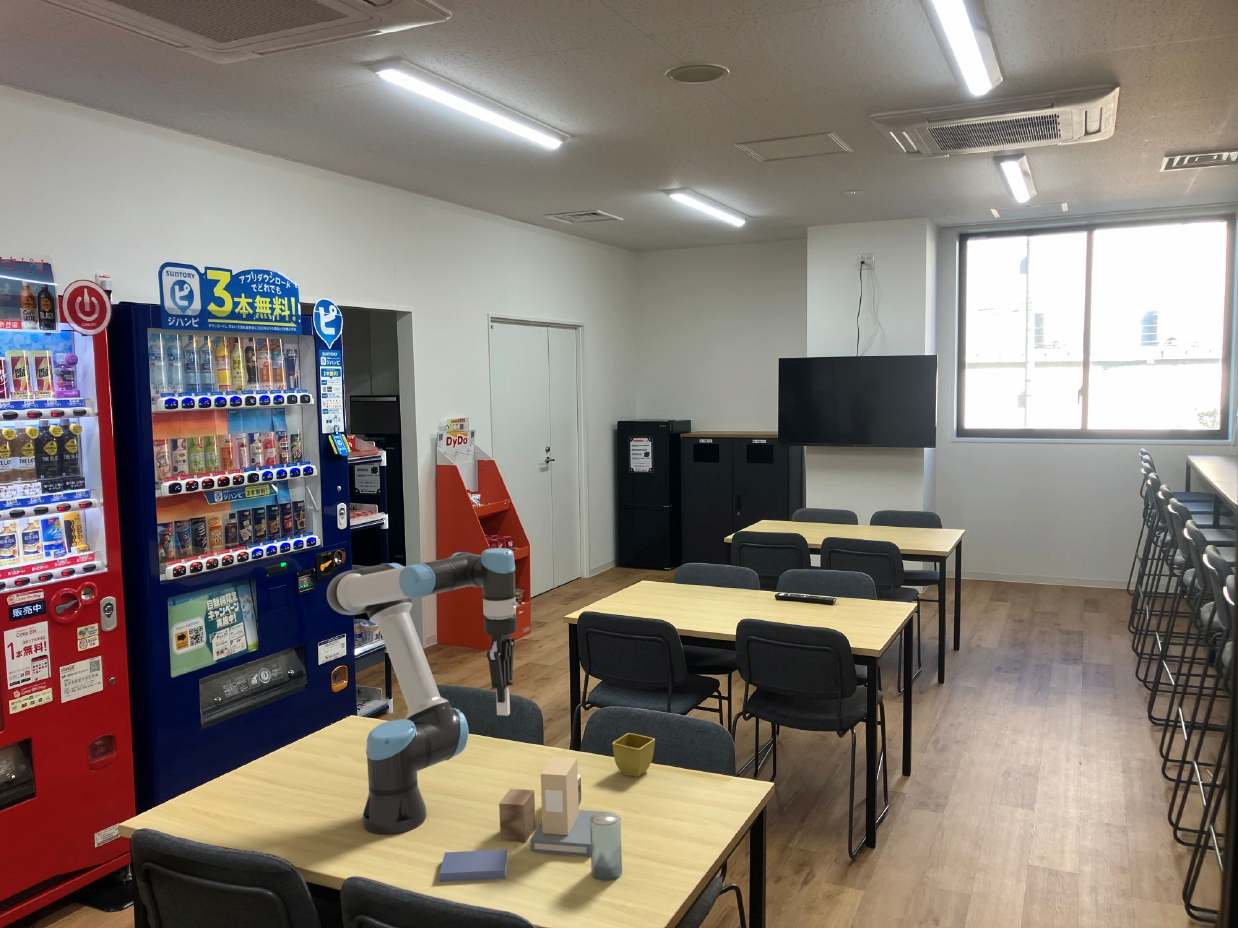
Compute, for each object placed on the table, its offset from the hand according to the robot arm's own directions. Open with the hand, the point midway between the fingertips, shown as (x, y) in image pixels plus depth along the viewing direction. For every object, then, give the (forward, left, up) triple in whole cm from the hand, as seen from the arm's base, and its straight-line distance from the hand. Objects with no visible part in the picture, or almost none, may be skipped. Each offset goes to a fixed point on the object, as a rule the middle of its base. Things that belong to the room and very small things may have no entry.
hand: (503, 713), depth 216 cm
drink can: (+27, -15, -29) cm, 42 cm away
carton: (+13, -1, -25) cm, 29 cm away
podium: (+15, -1, -29) cm, 32 cm away
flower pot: (+23, +37, -29) cm, 53 cm away
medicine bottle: (+10, +15, -29) cm, 34 cm away
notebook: (-2, -18, -29) cm, 34 cm away
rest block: (+3, -1, -29) cm, 29 cm away
